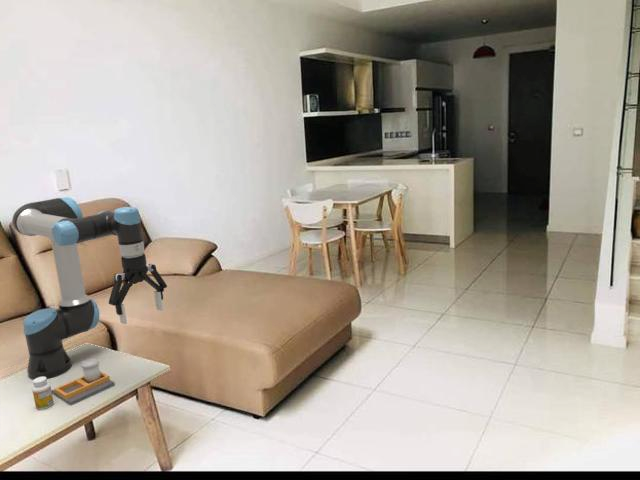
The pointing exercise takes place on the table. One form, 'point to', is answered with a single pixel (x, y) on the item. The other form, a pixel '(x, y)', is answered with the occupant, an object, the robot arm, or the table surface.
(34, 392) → the supplement bottle
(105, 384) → the orange bottle caddy
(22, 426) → the table surface
